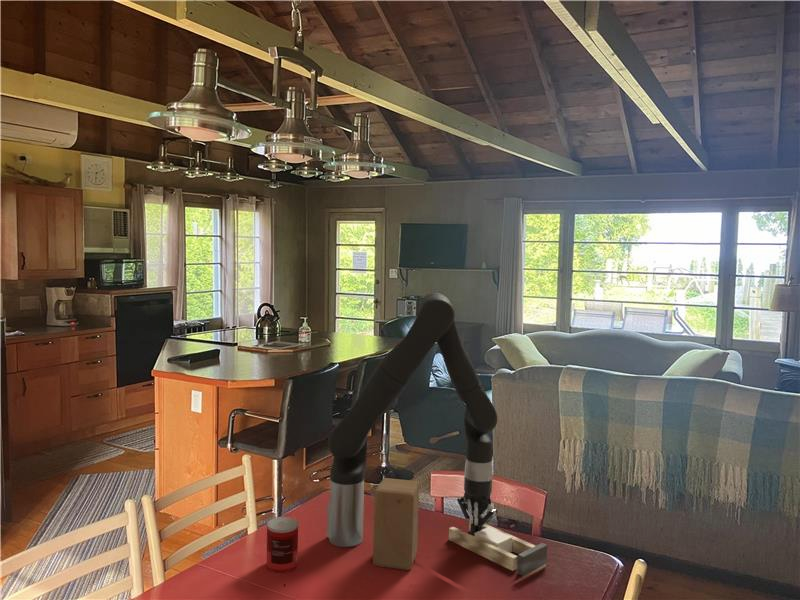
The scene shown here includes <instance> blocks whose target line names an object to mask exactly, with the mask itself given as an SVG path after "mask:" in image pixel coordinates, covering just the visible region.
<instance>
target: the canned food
mask: <svg viewBox="0 0 800 600" xmlns="http://www.w3.org/2000/svg"><path fill="white" fill-rule="evenodd" d="M266 524H267V526H266V566H267V568H268V569H269V570H270V571H271V572H274V573H277V572H278V573H281V574H283V573H288V572H289V573H290V572H292V571H293V570H294V569H295V568H297V565H298V555H299V554H298V553H299V551H298V550H299V545H298V544H299V543H298V542H299V523H298V520H296V519H295V518H292V517H288V516H279V517H275V518H271V519H270V520H269V521H268V522H267V523H266ZM278 573H277V574H278Z"/></svg>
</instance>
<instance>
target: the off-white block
mask: <svg viewBox="0 0 800 600" xmlns="http://www.w3.org/2000/svg"><path fill="white" fill-rule="evenodd" d="M474 536H475V537H477V538H479V539H481V540H483V541H485V542H488V543H490V544H492V545H494V546H496V547H498V548H501V549H503V550H505V551H507V552H509V553H512V552H513V551H512V537H511V536H509V535H506V534H504V533H502V532H499V531H497V530H495V529H493V528H490V527H488V528H485V529H483V530H481V531H478V532H476V533H475V535H474Z"/></svg>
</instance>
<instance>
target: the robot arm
mask: <svg viewBox="0 0 800 600" xmlns="http://www.w3.org/2000/svg"><path fill="white" fill-rule="evenodd" d="M454 309H455V308H454V306H453V304H452V303H451V300H450V299H449V298H448V297H446V296H445V295H443V294H442V293H438V292H432V293H428V294H426V295H425V296H423V297H422V299H421V300H420V302H419V304H418V308H417V312H418V313H417V316H416V319H414V322H413V324H412V325H411V327H410V328H409V330H408V331H407V333H406V334H405V336H404V337H403V338H402V339H401V340H400V341H399V343H397V344H396V345H395V346H394V347H393V348H392V349H390V351H389V352H388V353H387V354H386V355H385V356H384V357H383V358H382V359H381V361H379V364H378V365H377V366H376V368H375V369H374V370H373V372H372V374H371V375H370V377H369V378H368V380H367V382H366V383H365V385H364V387H363V388H362V390H361V392H360V393H359V395H358V397H357V399H356V400H355V403H353V405H352V407H351V408H350V410H349V411H348V412H347V413H346V415H345V416H344V417H343V418H342V419H341V421H340V422H338V424H337V425H336V426H334V427H333V429H332V430H331V431H330V433H329V436H328V440H327V445H328V446H327V447H328V449H329V450H328V451H329V452H330V453H331V455H332V456H333V460H332V465H331V468H330V475H329V477H330V479H329V502H328V503H327V524H326V525H327V528H326V529H327V532H326V533H327V535H326V536H327V538H328V540H329V543H330V544H331V545H333V546H336V547H341V548H350V547H355V546H358V545H360V544H361V543H362V542H363V540H364V539H363V535H364V534H363V533H364V528H363V527H364V498H365V493H364V492H365V472H366V466H367V455H368V454H367V453H368V434H369V432H370V431H371V429H372V428H373V426H374V425H375V424H376V422H377V421H378V420H379V419H380V418H381V417H382V416H383V414H384V413H385V412H387V410H389V408H390V407H391V406H392V405H393V404H394V402H396V400H397V399H398V398H399V396H400V395H401V394H402V393H403V391H404V390H405V388H406V387H407V386H408V384H409V383H410V381H411V379H412V378H413V376H414V375H415V373H416V372H417V371H418V370H419V368H420V366H421V364H422V363H423V361H424V359H425V357H427V355H428V353H429V352H430V351H431V350H432V348H433V347H434V346H435V344H437V347H438V348H439V351H440V354H441V355H442V359H443V362H444V365H445V368H446V371H447V373H448V376H449V378H450V381H451V384H452V386H453V388H454V390H455V392H456V394H457V396H458V399H459V400H460V401H462V402H463V404H464V405H465V410H464V414H463V425H464V431H465V438H466V449H465V450H466V452H465V454H466V456H465V463H464V476H463V477H464V479H463V480H464V481H463V482H464V483H463V491H464V493H463V496H460V497H459V498H457V500H456V501H457V502H458V503H457V504H458V506H459V507H460V510H461V512H462V514H463V516H464V518H465V520H468V522H469V521H470V523H471V528H470V532H469V533H470V535H472V536H474V535H475V533H476V532H478V531H481V530H482V525H484V524H487V525H488V523H490V521H492V519H494V518H495V516H496V515H497V514H498V512H499V511H498V509H497V508H494V506H492V499H491V494H492V491H493V490H492V489H493V488H492V487H493V472H494V471H493V442H492V439H491V438H490V436H489V432H492V431H493V430H494V429H495V427H497V423H498V414H497V411H496V408H495V406H494V405H493V403H492V401H491V399H490V397H489V396H488V395H487V392H485V389H484V388H483V385H482V383H481V381H480V378H479V376H478V373H477V371H476V369H475V367H474V365H473V362H472V360H471V358H470V356H469V355H468V352H467V351H466V348H465V346H464V344H463V342H462V340H461V339H462V338H461V337H460V335H459V331H458V329H457V326H456V323H455V310H454Z"/></svg>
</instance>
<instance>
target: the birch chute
mask: <svg viewBox="0 0 800 600" xmlns="http://www.w3.org/2000/svg"><path fill="white" fill-rule="evenodd" d="M488 527H490V528H493V529H495V530H497V531H499V532H502V533H504V534H506V535H509V536H511V537H512V552H513V553H512V552H510V553H509V552H507V551H505V550H503V549H501V548H498V547H496V546H494V545H492V544H490V543H488V542H485V541H483V540H481V539H479V538H477V537H475V536H472V535H471V532H470V528H471V523H470V521H469V520H468V532H469V533H468V532H466V531H465V530H461V529H460V528H457V527H455V526H451V527H449V528H448V541H450V542H453V543H454V544H457V545H459V546H460V547H463V548H465V550H466V549H467V550H468V551H471V552H473V553H475V554H477V555H479V556H481V557H483V558H484V559H487V560H489V561H491V562H493V563H495V564H497V565H499V566H502V567H503V568H506V569H507V570H510V571H512V572H514V571H516V570H517V574H518V575H520V579H525V578H527V577H528V576H530V575H533V574H534V573H536V572H538V571H540V570H542V569H543V568H545V567H546V566H547V559H548V556H547V554H548V544H546V543H544V542H540V543H539V544H537V545H535V544H533V543H531V542H528V541H526V540H523V539H521V538H518V537H516V536H514V535H512V534H510V533H508V532H505V531H503V530H501V529H498V528H496V527H494V526H492V525H489V524H488V523H487V524H484V525H482V530H483V529H485V528H488ZM514 553H515V554H514ZM516 554H518V555H516Z"/></svg>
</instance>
